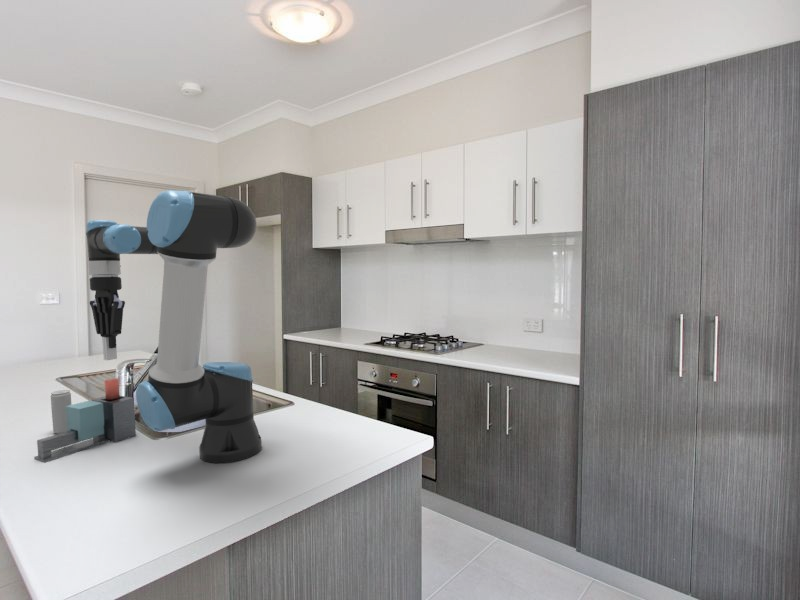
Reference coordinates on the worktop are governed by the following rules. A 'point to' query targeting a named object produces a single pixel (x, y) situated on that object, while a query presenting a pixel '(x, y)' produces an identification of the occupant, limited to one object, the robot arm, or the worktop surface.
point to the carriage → (86, 419)
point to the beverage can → (60, 410)
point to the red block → (112, 388)
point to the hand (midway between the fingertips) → (110, 359)
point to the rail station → (115, 429)
